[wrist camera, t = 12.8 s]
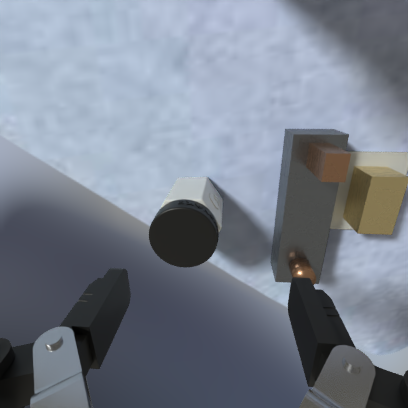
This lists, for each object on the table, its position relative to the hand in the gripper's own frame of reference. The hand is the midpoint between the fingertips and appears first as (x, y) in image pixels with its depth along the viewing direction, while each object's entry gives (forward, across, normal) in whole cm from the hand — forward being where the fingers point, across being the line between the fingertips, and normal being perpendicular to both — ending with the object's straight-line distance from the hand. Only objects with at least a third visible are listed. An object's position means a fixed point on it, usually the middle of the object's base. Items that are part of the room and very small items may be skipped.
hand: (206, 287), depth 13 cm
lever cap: (+28, -21, +5) cm, 35 cm away
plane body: (+28, -12, +7) cm, 31 cm away
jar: (+28, +4, +7) cm, 29 cm away
